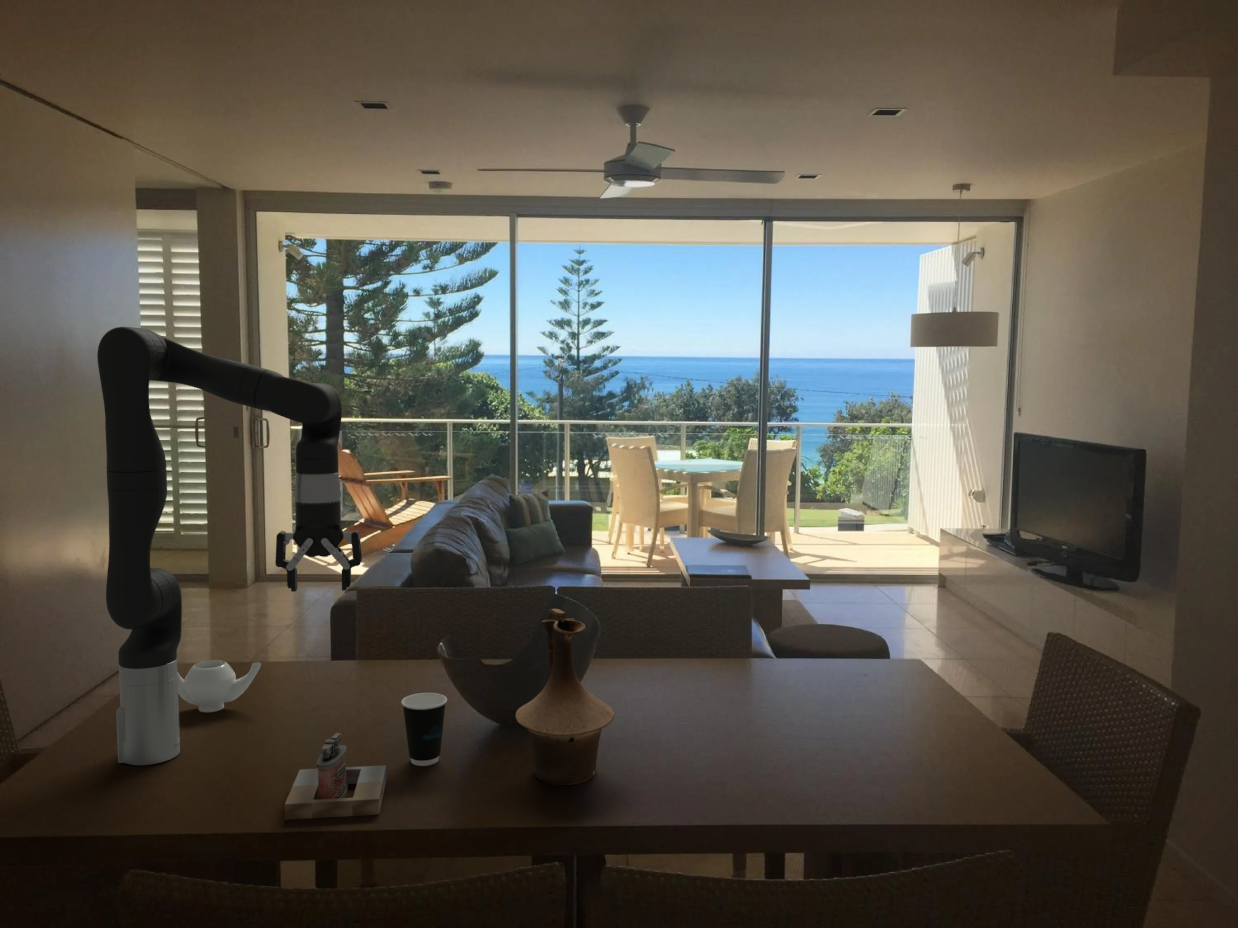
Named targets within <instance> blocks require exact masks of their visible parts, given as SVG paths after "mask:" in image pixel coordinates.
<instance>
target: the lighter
mask: <svg viewBox="0 0 1238 928" xmlns="http://www.w3.org/2000/svg"><path fill="white" fill-rule="evenodd" d="M342 737H343V734H341V733H340V732H336V733H334V734H333V735H332V736H331V738H330V739H325V740H324V742H323V743H324V744H323V745H322V747H321V754H320V755H319V757H318V758H317V761H316V769H318V798H319V799H337V798H346V796H347V794H348V784H346V767H347V761H346V760H347V759H346V755H347V752H348V747H347V746H346V745H344V744H340V743H341V742H342V741H343V738H342Z"/></svg>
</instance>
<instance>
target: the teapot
mask: <svg viewBox="0 0 1238 928" xmlns="http://www.w3.org/2000/svg"><path fill="white" fill-rule="evenodd" d="M261 666H262V662H259V661H258V662H253V663H251V666H250V669H249V671H248V672H247V674H245V675H243V676H242V677H240V678H237V677H236V676H237V675H236V673H235V671H234V670H233V668H232V667H231V665H230V664H229V663H228V662H226V661H225V660H222V659H208V660H203V661H198V662H197V663H194V664H193V665H192V666H191V668H190V669H189V670H188V672H187V674H186V676H185V678H183V677H182V676H181V675H180V673H179V672H178V671H177V674H178V696H180V697H181V698H182V699H183V700H184V701H185V702H187V703H189V704H191V705H193V706H198V711H199V712H201V713H214V712H218V711H221V710H223V709H224V708H225V703H230V702H232V701H235V700H236V699H238V698H239V697H240V696H242V694H243V693H245V691H246V690H247V689H248V688H249V686H250V685H251V684H252V682H253V680H254V679H255V677H256V676H257V674H258V672H259V671H260V669H261Z"/></svg>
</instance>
